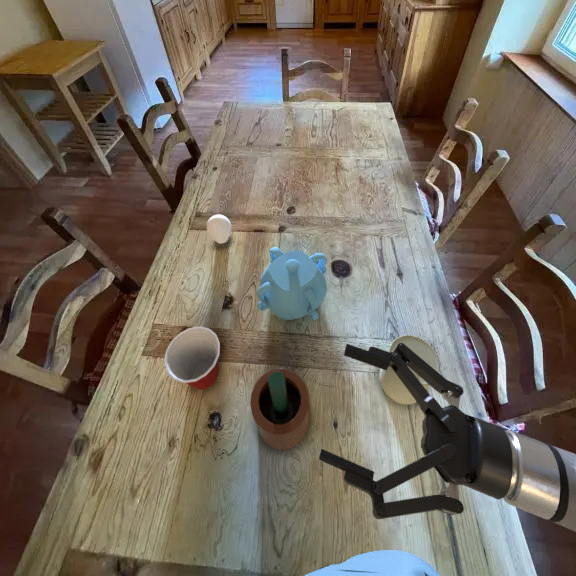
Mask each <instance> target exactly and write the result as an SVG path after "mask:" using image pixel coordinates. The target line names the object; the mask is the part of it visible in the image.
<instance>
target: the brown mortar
mask: <svg viewBox="0 0 576 576" xmlns="http://www.w3.org/2000/svg"><path fill="white" fill-rule="evenodd" d="M275 371H278V372H281V373H282V374H283V375H284V377H285V383H286V392H287V400H289V401H290V402H291V404H292V406H293V410H294V418H293V419H292V420H291V421H290V422H288V423H285V424H282V425H281V424H273V423H272V420H271V416H270V408H271V405H272V403H273V402H272V398H271V394H270V389H269V385H268V378H269V376H270V374H271V373H273V372H275ZM249 404H250V410H251V415H252V417H253V420H254V423H255V425H256V428H257V431H258V432H259V434H260V436H261V438H262V440H263V441H264V442H265V444H267V446H269V447H270V448H271V449H275V450H277V451H287V450H291V449H293V448H295V447H296V446H298V445H300V443H301V442H302V441H303V439H304V438H305V436H306V433H307V430H308V427H309V421H310V419H309V418H310V417H309V416H310V394H309V390H308V387H307V384H306V383H305V382H304V380H303V378H302V377H301V376H300V375H299V374H298V373H296V372H295V371H293V370H291V369H288V368H280V367H279V368H278V367H276V368H273V369H270V370H268V371H267V372H264V373H263V374H262V375H261V376H260V377H259V378H258V379H257V381H256V382H255V383H254V385H253V388H252V391H251V393H250V403H249Z"/></svg>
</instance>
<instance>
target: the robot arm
mask: <svg viewBox="0 0 576 576" xmlns="http://www.w3.org/2000/svg"><path fill="white" fill-rule="evenodd" d="M343 356H345V357H347V358H350V359H353V360H356V361H358V362H362V363H365V364H367V365H369V366H372V367H375V368H378V369H380V368H381V369H383V370H386V371H387V369H388V367H389V366H390V367H391V368H392V369H393V371H394V372H395V373H396V375H397V376H398V377H399V379H400V380H401V381H402V383H403V384H404V385H405V387H406V388H407V389H408V391H409V392H410V393H411V395H412V396H413V397H414V399H415V400H416V401H417V402H416V403H417V404H418V406H419V408H420V410H421V412H422V413H423V414H424V418H423V420H422V424H421V428H422V436H421V440H420V448H421V450H422V453H423V455H424V456H422V457H421V458H419V459H416V460H415V461H413V462H411V463H409V464H407V465H405V466H403V467H401V468H399V469H397V470H395V471H393V472H392V473H389V474H387V475H386V476H384V477H382V478H380V479H377V480H374V476H375V471H373V470H371V469H369V468H367V467H364V466H362V465H360V464H357V463H355V462H354V461H351V460H349V459H346V458H344V457H342V456H339V455H338V454H334V453H333V452H330V451H328V450H325V449H323V448H321V449H320V453H319V456H318V460H319V461H321V462H322V463H325V464H327V465H330V466H332V467H334V468H336V469H339V470H340V471H343V472H344V474H343V479H342V480H343V481H344V482H345V483H346V485H349V486H351V487H353V488H355V489H358V490H359V491H361V492H364V493H366V494H367V495H368V496H369V497H370V501H371V505H372V509H371V510H372V516H373V517H374V519H376V520H383V519H384V520H385V519H390V518H396V517H403V516H409V515H415V514H416V515H417V514H421V513H422V514H423V513H428V512H434V511H437V512H441V513H444V514H448V515H451V516H456V515H461V514H462V513H464V509H465V508H464V504H463V503H462V501H461V500H460V491H459V490H460V489H459V486H465V487H467V488H469V489H472V490H474V491H476V492H478V493H481V494H484V495H486V496H488V497H490V498H493V499H495V500H501V499H502V500H504V502H505V503H506V504H508V505H510V506H512V507H514V508H517V509H519V510H521V511H524V512H526V513H529V514H531V515H533V516H536V517H538V518H541V519H543V520H546V521H549V522H551V523H555V524H557V525H558V526H561V527H564V528H566V529H568V530H571V531H573V532H575V533H576V453H573V452H571V451H568V450H566V449H562V448H559V447H557V446H554V445H551V444H549V443H546V442H542V441H541V440H538V439H535V438H533V437H530V436H527V435H524V434H521V433H519V432H516V431H515V430H512V429H505V430H504V428H503V427H501V426H500V425H498V424H494V423H492V422H489V421H486V420H483V419H481V418H478V417H476V416H472V415H470V414H466V413H465V412H463V411H462V410H461V409H460V401H461V397H462V395H463V394H464V393H465V392H464V388H463V387H462V386H461V385H459V384H457V383H454V382H453V381H450V380H448V379H447V378H445V376H443V375H442V374H441V373H439V372H437V371H436V370H434V369H433V368H432V367H431V366H430V365H428V364H427V363H426V362H425V361H424V360H423V359H421V358H420V357H419V356H418V355H417V354H415V353H414V352H413V351H412V350H411V349H409V348H408V347H407V346H406V345H405V344H403V343H399V344H398V345H397V347H396V349H395V350H394V351H393V352H388V350H384V349H381V348H379V347H376V346H369V347H368V350H366V349H364V348H361V347H358V346H355V345H353V344H349V343H346V345H345V349H344V353H343ZM409 367H410V368H411V369H412V370H413V371H414V372H415V373H416V374H418V375H419V376H420V377H421V378H422V379H423V380H424V381H426V382H427V383H428V384H429V386H430V387H431V388H432V389H433V390H435V392H437V393H438V394H440V395H441V396H442V398H443V400H444V401H446V402H447V405H446V406H444V407H442V405H440V403H439V402H438V401H437V400H436V398H435V397H434V396H433V395H431V394H430V393H429V392H428V390H427V389H425V388H424V387H423V385H422V384H421V383H420V381H419V380H418V379H417V378H416V376H415V375H414V374H413V372H412V371H411V370H410V369H409ZM432 469H435V471H436V472H437V473H438V475H439V476H440V477H441V478H442V480H443V481H444V482H445V483H446V486H445V487H443V488H440V489H439V490H438V492H437V494H431V495H425V496H419V497H412V498H405V499H399V500H392V501H385V497H384V494H385V493H387V492H389V491H391V490H394V489H395V488H397V487H399V486H401V485H402V484H403V485H404V483H406V482H408V481H411V480H412V479H414V478H415V477H418V476H420V475H422V474H424V473H426V472H428V471H429V470H432ZM304 576H442V575H441V574H440V573H439V571H437V569H435V567H433V566H432V565H431V564H430V563H429V562H427V561H425V560H424V559H423V558H422V557H419V556H418V555H416V554H414V553H411V552H408V551H404V550H398V549H383V550H380V549H379V550H373V551H368V552H364V553H359V554H356V555H354V556H352V557H350V558H348V559H347V560H345V561H343V562H340V563H338V564H334V563H333V564H332V563H331V564H329V565H326V566H323V567H322V566H321V567H320V568H317V569H316V570H313V571H311V572H309V573H306V574H305V575H304Z"/></svg>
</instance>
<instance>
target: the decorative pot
mask: <svg viewBox="0 0 576 576" xmlns="http://www.w3.org/2000/svg"><path fill="white" fill-rule="evenodd" d="M268 252H269V253H268V254H269V257H270V263H269V264H268V266H267V267H266V268H265V269H264V271H263V273H262V274H261V277H260V281H259V287H258V289H257V290H256V296H257V299H258V300H259V301H258V302H257V304H256V307H257V310H258V311H261V312H263V311H266V310H268V309H269V310H270V311H271V312H272V313H273V314H274V315H275V316H276V317H277V318H279V319H281V320H285V321H293V320H297V319H300V318H303V317H306V316H308V317H309V319H310V320H311V321H315V320H318V318H319V313H318V312H317V311H316V310H317V309H318V307H319V306H320V305H321V304H322V303H323V301H324V300H325V298H326V296H327V293H328V292H327V291H328V285H327V280H326V277H325V274H326V273H327V271H328V270H327V266H326V263H327V257H326V255H325V254H324V253H323V252H316V253H314V254H312V255H310V256H309V255H308V254H307V253H305V252H304V251H302V250H297V249H295V250H290V251H287V252H283V251H282V250H281V248H279V247H278V246H273V247H271V248H270V249H269V251H268ZM317 262H318V263H317Z"/></svg>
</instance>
